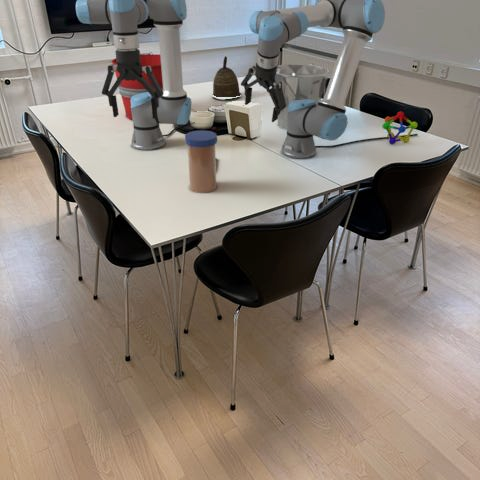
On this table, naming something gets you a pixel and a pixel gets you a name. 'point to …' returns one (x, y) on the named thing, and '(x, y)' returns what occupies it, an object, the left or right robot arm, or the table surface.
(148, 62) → the bucket
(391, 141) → the educational toy
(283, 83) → the bucket
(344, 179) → the table surface
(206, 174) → the jar
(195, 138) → the lid
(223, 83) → the bell
